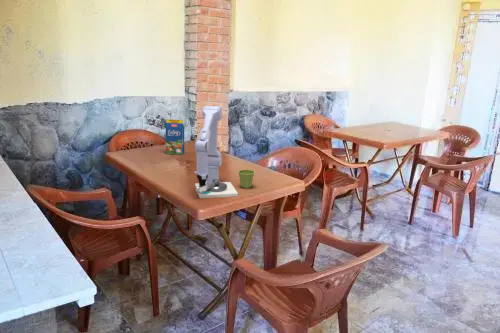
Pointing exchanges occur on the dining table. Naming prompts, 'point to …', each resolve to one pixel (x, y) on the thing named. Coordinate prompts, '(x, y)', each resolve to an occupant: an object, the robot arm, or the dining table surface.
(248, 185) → the plant pot
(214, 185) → the crank handle
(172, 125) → the blue food package
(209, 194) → the base board
